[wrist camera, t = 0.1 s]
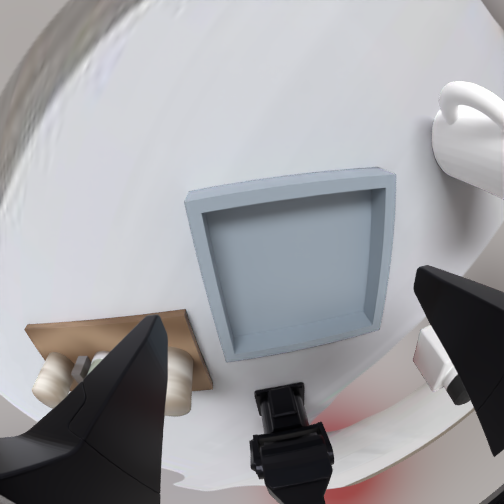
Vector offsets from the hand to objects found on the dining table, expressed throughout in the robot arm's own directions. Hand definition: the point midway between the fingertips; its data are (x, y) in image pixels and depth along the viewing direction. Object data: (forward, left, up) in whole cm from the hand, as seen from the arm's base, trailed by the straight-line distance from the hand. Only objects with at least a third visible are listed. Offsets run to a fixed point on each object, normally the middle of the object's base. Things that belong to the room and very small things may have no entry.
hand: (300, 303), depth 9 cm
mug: (+5, -20, -15) cm, 25 cm away
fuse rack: (-16, +19, -15) cm, 29 cm away
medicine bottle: (-24, -24, -15) cm, 37 cm away
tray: (-7, -3, -15) cm, 17 cm away
